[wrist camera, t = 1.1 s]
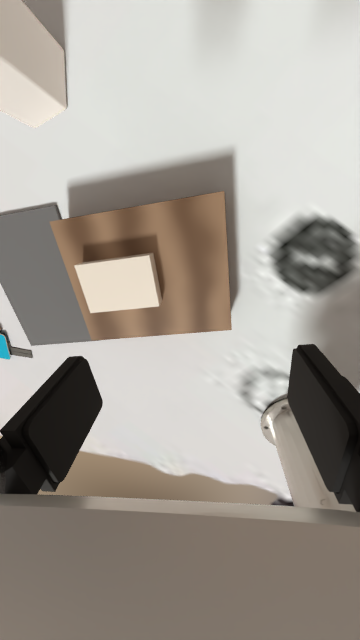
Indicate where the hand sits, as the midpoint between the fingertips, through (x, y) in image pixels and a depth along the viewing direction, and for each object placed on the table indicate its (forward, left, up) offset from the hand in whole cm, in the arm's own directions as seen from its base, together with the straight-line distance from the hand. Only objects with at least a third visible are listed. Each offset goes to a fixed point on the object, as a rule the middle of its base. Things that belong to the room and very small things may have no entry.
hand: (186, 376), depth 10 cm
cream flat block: (+9, -1, -18) cm, 20 cm away
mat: (+24, -1, -22) cm, 32 cm away
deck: (+6, -1, -22) cm, 23 cm away
